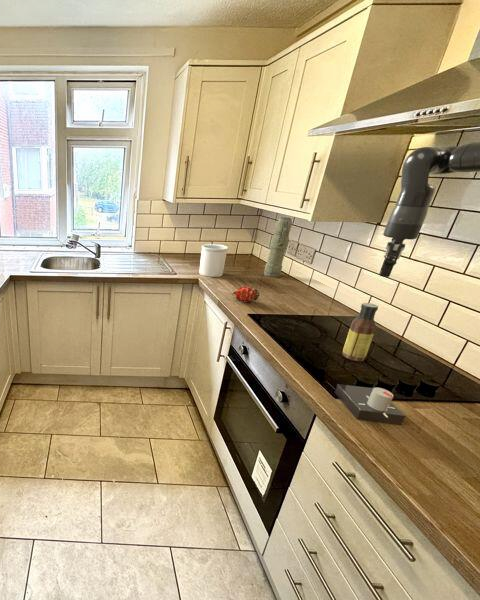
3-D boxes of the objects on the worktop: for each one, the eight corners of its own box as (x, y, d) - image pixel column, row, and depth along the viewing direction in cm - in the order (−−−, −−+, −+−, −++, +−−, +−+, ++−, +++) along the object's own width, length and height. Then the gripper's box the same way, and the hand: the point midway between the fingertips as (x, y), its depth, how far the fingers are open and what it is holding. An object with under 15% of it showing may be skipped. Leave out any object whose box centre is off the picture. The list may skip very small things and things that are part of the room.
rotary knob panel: (373, 397, 90) (377, 388, 89) (405, 429, 79) (410, 420, 78) (334, 392, 92) (337, 383, 91) (360, 423, 81) (364, 414, 80)
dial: (363, 402, 84) (369, 388, 82) (373, 399, 85) (379, 385, 83) (380, 413, 80) (387, 397, 78) (390, 409, 81) (398, 394, 79)
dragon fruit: (259, 306, 154) (232, 306, 159) (258, 292, 159) (231, 292, 163) (261, 297, 148) (233, 297, 152) (260, 282, 152) (232, 282, 156)
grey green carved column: (266, 277, 191) (280, 219, 178) (261, 272, 202) (274, 216, 189) (282, 278, 189) (298, 219, 176) (276, 273, 200) (290, 216, 187)
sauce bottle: (366, 358, 109) (388, 306, 101) (360, 364, 105) (382, 310, 98) (344, 350, 114) (363, 300, 106) (337, 355, 110) (356, 304, 103)
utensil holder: (193, 273, 198) (197, 246, 192) (204, 269, 208) (209, 242, 201) (216, 279, 188) (221, 250, 182) (227, 274, 198) (232, 246, 191)
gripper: (424, 225, 86) (400, 281, 92) (422, 220, 96) (401, 271, 102) (387, 222, 91) (367, 275, 97) (389, 217, 101) (370, 266, 107)
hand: (384, 273), depth 100 cm, fingers open, 8 cm apart
